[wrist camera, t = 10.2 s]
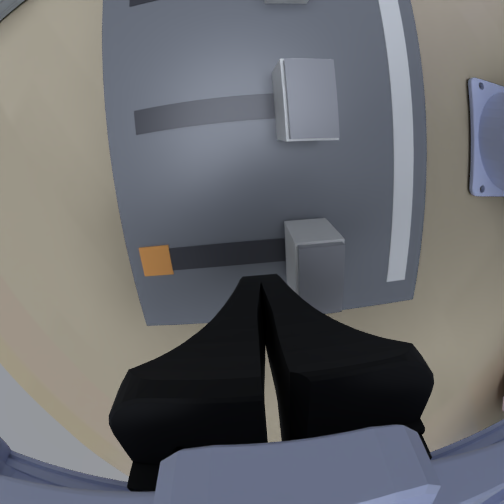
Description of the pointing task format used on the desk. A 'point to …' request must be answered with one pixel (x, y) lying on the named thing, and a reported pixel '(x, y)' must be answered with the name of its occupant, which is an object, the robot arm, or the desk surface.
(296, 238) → the block
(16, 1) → the skincare box
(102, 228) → the desk surface
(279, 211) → the panel
